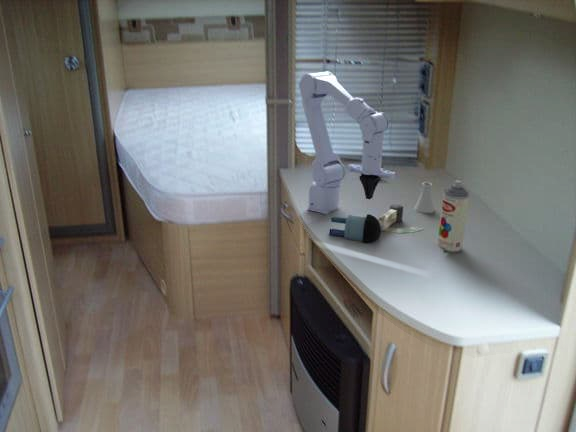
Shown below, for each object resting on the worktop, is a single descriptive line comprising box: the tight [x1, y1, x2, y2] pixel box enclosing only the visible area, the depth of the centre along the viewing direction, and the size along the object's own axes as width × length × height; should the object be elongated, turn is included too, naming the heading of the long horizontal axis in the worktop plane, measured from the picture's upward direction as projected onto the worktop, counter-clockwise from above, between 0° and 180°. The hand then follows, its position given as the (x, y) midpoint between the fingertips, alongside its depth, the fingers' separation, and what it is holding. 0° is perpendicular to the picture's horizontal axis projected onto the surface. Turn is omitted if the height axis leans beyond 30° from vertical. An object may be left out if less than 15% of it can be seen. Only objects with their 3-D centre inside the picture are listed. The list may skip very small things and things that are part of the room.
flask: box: [413, 181, 435, 214], centre depth 192 cm, size 7×7×10 cm
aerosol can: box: [437, 179, 470, 255], centre depth 165 cm, size 7×7×20 cm
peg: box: [378, 204, 404, 232], centre depth 180 cm, size 14×4×5 cm, turn 147°
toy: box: [329, 213, 382, 244], centre depth 171 cm, size 8×9×15 cm
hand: (369, 198), depth 180 cm, fingers closed
